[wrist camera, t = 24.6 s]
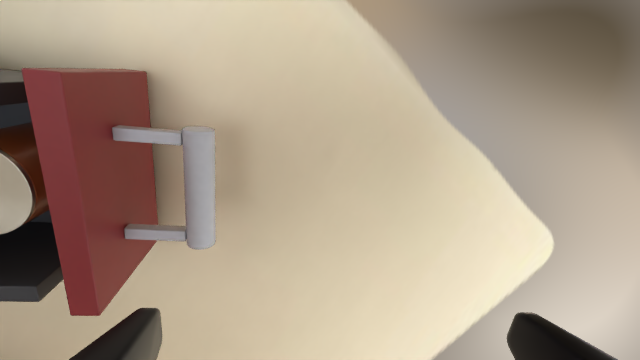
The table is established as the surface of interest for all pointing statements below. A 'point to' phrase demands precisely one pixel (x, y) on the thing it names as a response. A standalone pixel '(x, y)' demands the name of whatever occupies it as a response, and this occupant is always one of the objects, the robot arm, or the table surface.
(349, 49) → the table surface
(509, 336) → the robot arm
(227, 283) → the table surface
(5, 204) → the brown short cylinder
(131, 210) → the pod drawer
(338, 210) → the table surface
